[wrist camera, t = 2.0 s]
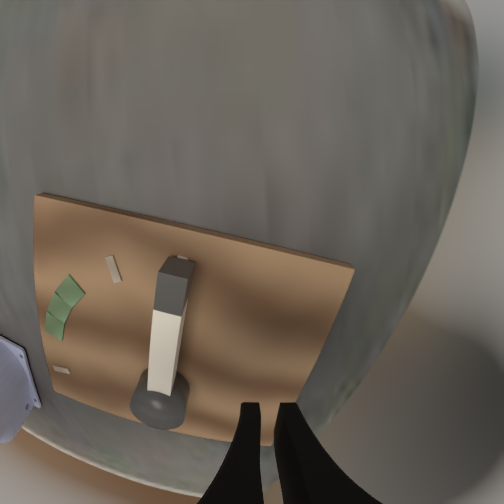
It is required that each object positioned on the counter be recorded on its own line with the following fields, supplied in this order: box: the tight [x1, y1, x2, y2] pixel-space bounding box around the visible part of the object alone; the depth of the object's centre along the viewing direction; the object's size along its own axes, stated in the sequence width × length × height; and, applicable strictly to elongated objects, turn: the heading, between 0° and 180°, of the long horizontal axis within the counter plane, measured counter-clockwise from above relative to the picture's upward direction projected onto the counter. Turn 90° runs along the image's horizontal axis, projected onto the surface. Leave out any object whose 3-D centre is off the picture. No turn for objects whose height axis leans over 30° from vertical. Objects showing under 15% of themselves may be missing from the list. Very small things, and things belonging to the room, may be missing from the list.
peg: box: [130, 256, 195, 430], centre depth 17 cm, size 13×4×3 cm, turn 166°
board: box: [33, 193, 355, 446], centre depth 20 cm, size 19×22×1 cm
